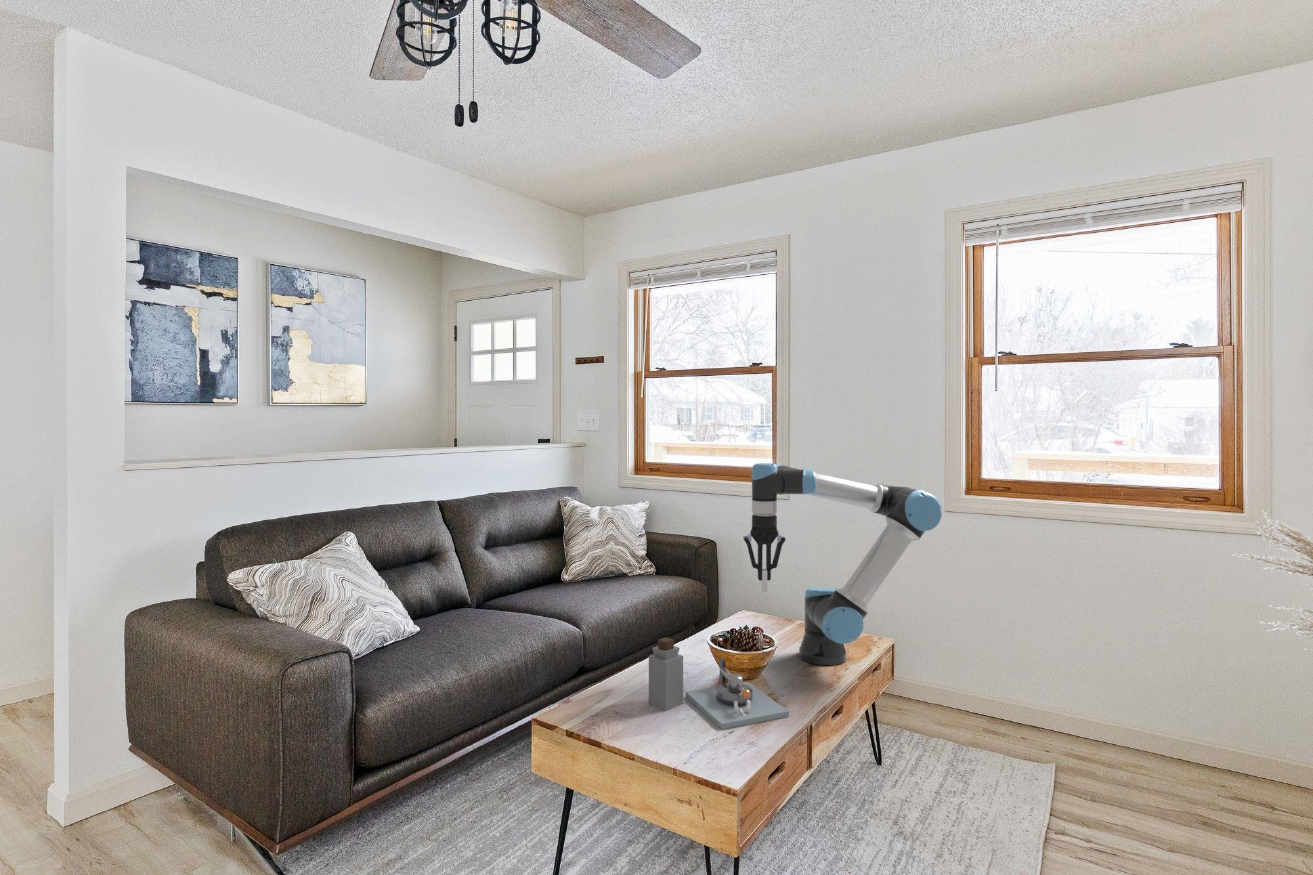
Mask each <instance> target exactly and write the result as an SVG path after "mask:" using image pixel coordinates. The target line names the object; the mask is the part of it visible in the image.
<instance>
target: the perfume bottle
mask: <svg viewBox="0 0 1313 875" xmlns="http://www.w3.org/2000/svg"><path fill="white" fill-rule="evenodd" d="M651 649H652V652H653V654H650V655H648V704H649V705H651V706H652V707H653V706H654V707H656V708H657V709H660V710H663V711H665V712H667V711H670V710H672V709H674V708H676V707H679V706H681V705H683V704H684V655H682V654H679V652H680V647H679V646H676V645H675V639H674V638H670V637H667V636H666V637H662V638H659V639H657V645H656V646H654V647H652V648H651Z"/></svg>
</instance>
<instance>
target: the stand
mask: <svg viewBox="0 0 1313 875" xmlns="http://www.w3.org/2000/svg"><path fill="white" fill-rule="evenodd" d="M743 684H746V685H748V686H750V687H751V688H752V690H753V699H752V701H751V702H750V700H747V703H746V704H741V705H738V701H734V705H731V704H726V703H723V702H720V701H719V700H718V699H717V698H716V688H717V686H713V687H707V688H701V689H696V690H695V689H694V690H689V691H685V698H686V699H687V700H689V701H690V703H692V704H693V705H694V706H695V707H696V708H697V709H698V710H699V711H701V712H702V713H703V714H704V715H705V716H706V717H707V718H708V719H710V721H712V722H713V723H714V724H715V725H716V726H717V727H718V728H720V729H721V730H726V729H732V728H737V727H742V726H748V725H752V724H759V723H762V722H767V721H772V720H778V719H779V720H780V719H784V718H789V717H790V714H789V712H790V711H789V710H788V709H787V708H785V707H784V706H783V705H781V704H779V703H778V702H777V701H776V700H774V699H773V698H771V697H770V696H768V695H767V694H766V693H764V692H763V691H761V690H760V689H759V688H757V687H756V686H754V685H753V684H752V683H750V682H749V681H743Z"/></svg>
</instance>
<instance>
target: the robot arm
mask: <svg viewBox="0 0 1313 875" xmlns="http://www.w3.org/2000/svg"><path fill="white" fill-rule="evenodd" d="M751 470H752V471H751V512H752V515H751V530H750V532H749V534H748V535H744V536H743V537H742V538H743V541H744V542H745V544H746V547H747V550H748V555H749V559H750V563H751V567H752V568H753V569H756V570H757V579H758V581H761V586H760V587H761V588H760V590H761V593H768V581H771V579H772V577H771V576H772V573H771V572H772V570H774V569H776V568H777V567H778V563H779V559H780V556H781V552H782V547H783V544H784V543H785V542H786V537H785V536H783V535H781V534H780V533H779V530H778V526H777V525H778V521H777V520H778V516H777V512H778V505H777V504H778V495H803V496H804V495H807V496H812V497H817V498H820V499H825V500H830V501H834V502H839V503H843V504H847V505H852V506H856V507H860V508H861V507H862V508H866V509H869V511H870V512H871V513H873V514H874V513H875V514H877V515H881V516H884V517H885V520H886V526H885V528H884V529H883V531H881V534H880V535H878V538H877V539H876V540H875V542H874V543H873V544H872V546H871V547H870V549H869V550H868V552H867V553H866V555H865V556H864V557H863V559H862V560H861V562H860V563H859V564H858V566H857V567H856V569H855V570H854V572H853V573H852V574H851V576H850V577H849V579H848V580H847V582H846V583H845V584H844V586H843V587H841V588H836V587H832V586H831V587H830V586H829V587H828V586H816V587H815V586H814V587H808V588H807V589H806V590H805V591H804V634H803V637H802V639H801V643H800V647H799V649H798V656H799V658H800V659H801V660H803V661H804V662H806V663H810V664H813V665H819V666H836V665H840V664H841V665H842V664H843V663H845V662H846V661H847V650H846V648H845V644H850V643H853V642H855V641H856V640H857V639H859V638H860V636H861V635H862V633H863V630H864V627H865V626H864V619H865V617H866V616H867V615H868V613H869V609H868V604H869V602H870V601H871V599H872V598H873V597H874V595H875V594H876V592H877V591H878V589H880V587H881V586H882V584H883V583H884V581H885V580H886V578H887V577H888V576H889V574H890V572H891V571H892V570H893V569H894V567H895V565H896V564H897V563H898V561H899V560H900V559H901V557H902V555H903V554H904V552H905V551H906V550H907V548H908V547H909V545H910V544H911V543H913V542H914V541H920V539H921V538H922V536H924V534H925V532H929V531H931V530H933V529H935V528H936V527H937V526H938V525H939V524H940V522H941V520H942V514H943V510H942V505H941V503H940V501H939V499H938V498H937V497H936V496H935V495H933V494H932V493H929V492H927V491H926V490H921V489H916V488H911V487H907V486H895V485H886V484H880V483H877V484H874V485H871V484H867V483H863V482H857V481H853V480H850V479H845V478H840V477H836V476H832V475H826V474H821V473H817V472H815V471H814V470H813V469H805V468H804V469H803V468H802V469H799V468H795V467H791V466H788V465H785V464H784V465H782V464H781V465H777V464H776V463H771V462H768V463H767V462H764V463H763V462H760V463H759V462H758V463H755V464H754V465H753V466H752V468H751ZM752 538H753V540H752ZM775 540H776V541H777V543H776V546H775V551H774V554H773V559H772V544H773V543H774V541H775ZM752 541H754V542H755V543H756V544H757V563H756V558H755V554H754V550H753V546H752V543H751V542H752ZM764 545H765V552H766V553H765V567H766V568H763V549H764Z"/></svg>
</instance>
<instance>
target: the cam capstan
mask: <svg viewBox="0 0 1313 875" xmlns="http://www.w3.org/2000/svg"><path fill="white" fill-rule="evenodd" d="M726 679H727V681H728V682H726ZM743 682H744V676H743V675H742V674H740V673H731V672H730V671H729V670H728V669H727V668H726V660H725V659H724V658H723V657H720V658H719V683H720V684H718V685H717V686H716V687H717V688H716V698H717V699H718V700H719V701H720V702H723V703H726V704H731V705H734V701H738V705H741V704H746V703H747V700H750V702H751V701H752V699H753V690H752V688H751V687H750V686H748V685H746V684H743Z"/></svg>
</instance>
